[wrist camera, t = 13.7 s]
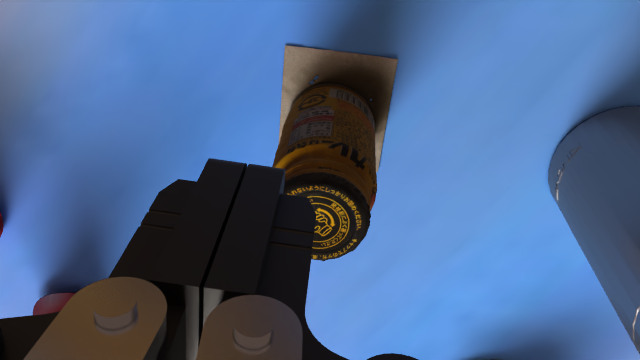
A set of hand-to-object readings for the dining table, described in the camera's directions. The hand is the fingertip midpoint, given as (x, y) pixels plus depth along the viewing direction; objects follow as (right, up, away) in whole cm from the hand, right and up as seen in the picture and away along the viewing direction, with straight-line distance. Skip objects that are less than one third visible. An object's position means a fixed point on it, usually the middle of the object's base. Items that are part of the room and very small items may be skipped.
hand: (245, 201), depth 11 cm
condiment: (+3, +5, +26) cm, 27 cm away
